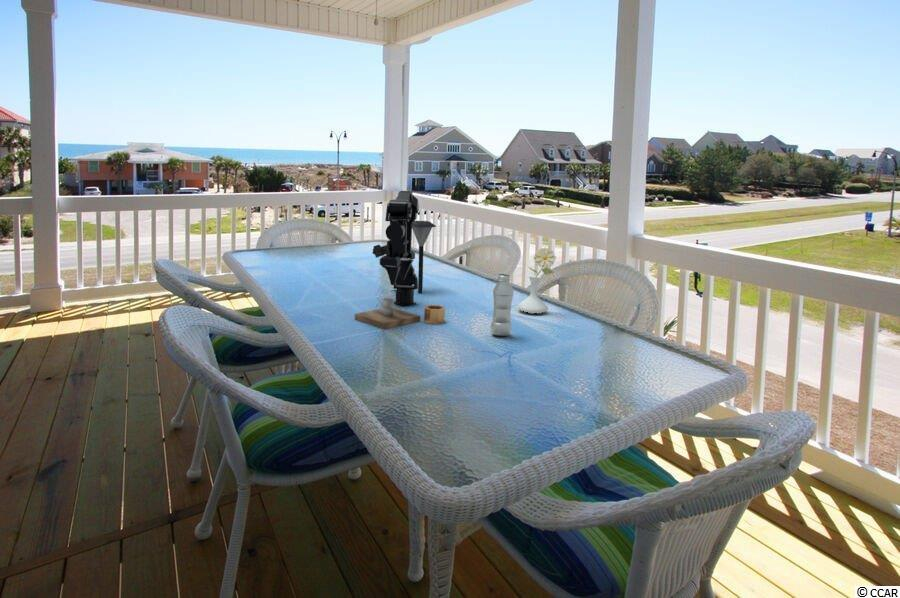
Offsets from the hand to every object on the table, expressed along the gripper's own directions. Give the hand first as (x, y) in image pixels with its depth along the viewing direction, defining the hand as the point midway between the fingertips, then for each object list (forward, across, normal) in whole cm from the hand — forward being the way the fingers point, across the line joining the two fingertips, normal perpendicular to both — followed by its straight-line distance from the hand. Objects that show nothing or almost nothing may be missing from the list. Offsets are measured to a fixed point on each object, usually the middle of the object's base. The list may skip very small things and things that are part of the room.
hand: (397, 282), depth 209 cm
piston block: (+13, +3, -2) cm, 14 cm away
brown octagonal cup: (+13, -2, +13) cm, 19 cm away
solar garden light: (+13, -43, -6) cm, 46 cm away
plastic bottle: (+13, +6, +38) cm, 41 cm away
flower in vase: (+13, -30, +44) cm, 55 cm away
